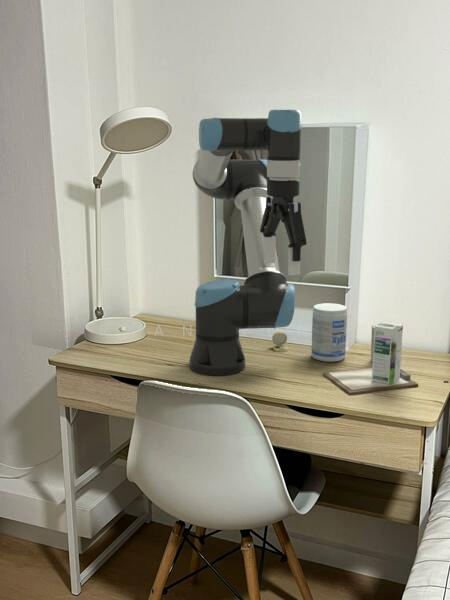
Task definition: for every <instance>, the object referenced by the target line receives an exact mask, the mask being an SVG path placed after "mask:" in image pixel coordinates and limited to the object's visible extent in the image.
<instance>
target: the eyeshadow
mask: <svg viewBox="0 0 450 600" xmlns="http://www.w3.org/2000/svg"><path fill="white" fill-rule="evenodd" d="M271 337H272V338H271V339H272V343H273V344H274V345H275V346H274V345H273V351H274V352H277V353H285V352H288V351H289V347H288V346H287V345H285V344H286V343H287V341H288V337H287V334H286V332H283V331H276V332H274V334H273V335H272V336H271Z"/></svg>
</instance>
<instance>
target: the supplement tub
mask: <svg viewBox="0 0 450 600" xmlns="http://www.w3.org/2000/svg"><path fill="white" fill-rule="evenodd" d="M347 322H348V309H347V306H346V305H344V304H340V303H332V302H331V303H329V302H328V303H327V302H326V303H324V302H322V303H318V304H317V303H316V304H315V305H314V306H313V309H312V322H311V323H312V325H311V326H312V327H311V351H310V352H311V357H312V358H313V359H315V360H317V361H320V362H327V363H328V362H329V363H330V362H332V363H335V362H339V361H342V360H344V359H345V357H346V350H347V349H346V345H347V343H346V341H347V329H348V327H347V326H348V323H347Z"/></svg>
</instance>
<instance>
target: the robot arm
mask: <svg viewBox="0 0 450 600" xmlns="http://www.w3.org/2000/svg"><path fill="white" fill-rule="evenodd" d="M267 116H268V117H261V118H260V117H255V118H252V117H250V118H244V117H243V118H242V117H241V118H239V117H236V118H235V117H234V118H233V117H232V118H231V117H229V118H227V117H226V118H221V117H211V118H203V119H200V121H199V123H198V124H199V126H198V142H199V149H201V154H200V158H199V159H197V161H196V162H195V163H194V166H193V169H192V179H193V182H194V184H195V185H196V187H197V188H198V189H199V191H201V192H202V193H203V194H205V195H206V196H207V197H211V198H213V199H217V200H233V201H234V205H235V207H236V208H237V209H238V210H240V214H241V223H242V224H241V225H242V232H243V233H242V234H243V241H244V250H245V257H246V265H247V274H248V276H247V277H246V278H245V279H244V282H243V285H242V284H240V282H239V281H238V279H232V278H231V279H228V278H225V279H224V278H223V279H216V280H210V281H207V282H204V283H202V284H200V285H199V286H198V287H197V288H196V290H195V297H194V298H195V299H194V300H195V302H194V307H195V340H194V344H193V347H192V349H191V353H190V355H189V369H190V370H191V371H193V372H194V373H197V374H201V375H205V376H206V375H207V376H228V375H233V374H235V375H236V374H238V373H240V372H242V371H243V370H245V368H246V357H245V354H244V350H243V347H242V344H241V341H240V330H244V329H245V330H247V329H249V330H250V329H252V330H253V329H254V330H255V329H277V328H286V327H289V326H290V324H291V323H292V321H293V318H294V315H295V314H294V313H295V308H296V307H295V306H296V288H295V285H294V284H293V283H288V282H287V277H286V276H285V275H286V274H284V273H282V272H281V271H280V265H279V259H278V253H277V247H276V246H277V245H276V243H277V242H276V241H277V240H276V239H277V233H276V230H277V229H278V226H279V224H280V222H281V223H283V224H284V228H285V230H286V234H287V237H288V240H289V244H288V246H287V247H288V256H287V257H288V261H287V262H288V264H287V267H288V268H287V275H288V276H299V275H301V260H302V259H301V256H302V254H301V251H302V250H301V249H302V247H303V246H306V245H307V244H308V243H307V238H306V232H305V228H304V223H303V222H304V221H303V216H302V204H301V202H299V201H298V202H295V201H294V198H295V197H298V196H299V195H300V187H301V186H300V183H301V181H300V180H299V179H298V178H299V177H300V173H301V171H300V170H301V169H300V168H302V164H301V144H302V143H301V142H302V141H301V139H302V127H303V124H302V113H301V111H300V110H299V109H271V110H270V111H268V115H267ZM234 151H236V152H237V151H267V159H260V158H256V159H257V160H254V159H231V157H232V155H233V152H234ZM248 188H249V189H248Z"/></svg>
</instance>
